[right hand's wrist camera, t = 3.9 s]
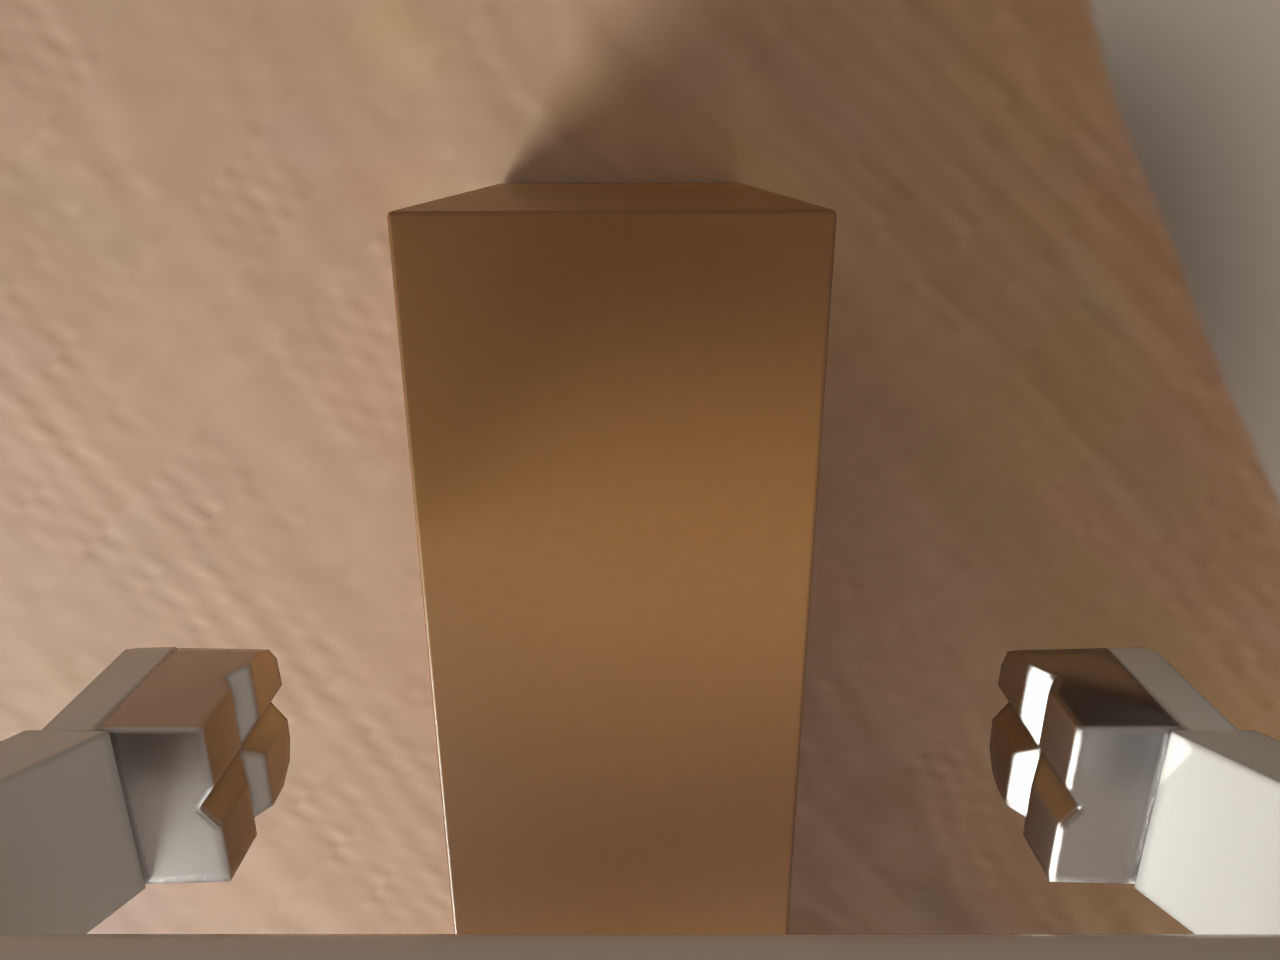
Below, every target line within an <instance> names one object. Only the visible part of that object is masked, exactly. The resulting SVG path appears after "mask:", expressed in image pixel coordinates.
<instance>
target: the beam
mask: <svg viewBox="0 0 1280 960" xmlns="http://www.w3.org/2000/svg"><path fill="white" fill-rule="evenodd" d="M387 219H388V230H389V240H390V251H391V262H392V272H393V283H394V294H395V304H396V315H397V326H398V337H399V347H400V358H401V369H402V379H403V390H404V401H405V411H406V422H407V433H408V443H409V454H410V465H411V475H412V486H413V497H414V507H415V518H416V529H417V540H418V550H419V561H420V572H421V582H422V593H423V604H424V614H425V625H426V636H427V646H428V657H429V668H430V678H431V689H432V700H433V710H434V721H435V732H436V743H437V753H438V764H439V775H440V785H441V796H442V807H443V817H444V828H445V839H446V849H447V860H448V871H449V881H450V892H451V903H452V913H453V924H454V934H787V929H788V914H789V899H790V885H791V870H792V856H793V841H794V827H795V812H796V797H797V783H798V768H799V754H800V739H801V725H802V710H803V695H804V681H805V666H806V652H807V637H808V623H809V608H810V593H811V579H812V564H813V550H814V535H815V521H816V506H817V491H818V477H819V462H820V448H821V433H822V419H823V404H824V390H825V375H826V360H827V346H828V331H829V317H830V302H831V288H832V273H833V258H834V244H835V229H836V213H835V211H833V210H831V209H827V208H824V207H820V206H817V205H813V204H810V203H806V202H803V201H800V200H796V199H793V198H789V197H786V196H782V195H779V194H776V193H772V192H769V191H765V190H762V189H758V188H755V187H751V186H748V185H745V184H741V183H543V184H497V185H493V186H489V187H486V188H482V189H478V190H474V191H470V192H466V193H462V194H458V195H454V196H450V197H446V198H442V199H438V200H434V201H430V202H426V203H422V204H418V205H414V206H411V207H407V208H403V209H399V210H395V211H392V212H389V213H388V216H387Z"/></svg>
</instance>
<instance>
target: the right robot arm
mask: <svg viewBox="0 0 1280 960" xmlns="http://www.w3.org/2000/svg"><path fill="white" fill-rule="evenodd" d="M281 685H282V683H281V678H280V673H279V668H278V663H277V658H276V657H275V656H274V655H273V654H272V653H271V652H270V651H269V650H261V649H209V648H180V649H178V648H176V647H159V648H134V649H128V650H125V651H124V652H123V653H122V654H121V655H120V656H118V657H117V658H116V659H115V660H114V661H113V662H112V663H111V664H110V665H109V666H108V667H107V668H106V669H105V670H104V671H103V672H102V673H101V674H100V675H99V676H98V677H97V678H96V679H94V680H93V681H92V682H91V683H90V684H89V685H88V686H87V687H86V688H85V689H84V690H83V691H82V692H81V693H80V694H79V695H78V696H77V697H76V698H75V699H74V700H73V701H71V702H70V703H69V704H68V705H67V706H66V707H65V708H64V709H63V710H62V711H61V712H60V713H59V714H58V715H57V716H56V717H55V718H54V719H53V720H52V721H51V722H50V723H49V724H47V725H46V726H45V727H44V728H43V729H42V730H35V731H24V732H22V733H19V734H17V735H15V736H12V737H10V738H8V739H5V740H3V741H1V742H0V960H1280V742H1279V741H1277V740H1275V739H1272V738H1270V737H1268V736H1265V735H1263V734H1261V733H1258V732H1256V731H1245V730H1238V729H1237V728H1236V727H1235V726H1234V725H1233V724H1232V723H1231V722H1229V721H1228V720H1227V719H1226V718H1225V717H1224V716H1223V715H1222V714H1221V713H1220V712H1219V711H1218V710H1217V709H1216V708H1215V707H1214V706H1213V705H1212V704H1211V703H1210V702H1209V701H1208V700H1207V699H1206V698H1204V697H1203V696H1202V695H1201V694H1200V693H1199V692H1198V691H1197V690H1196V689H1195V688H1194V687H1193V686H1192V685H1191V684H1190V683H1189V682H1188V681H1187V680H1186V679H1185V678H1184V677H1183V676H1182V675H1181V674H1180V673H1178V672H1177V671H1176V670H1175V669H1174V668H1173V667H1172V666H1171V665H1170V664H1169V663H1168V662H1167V661H1166V660H1165V659H1164V658H1163V657H1162V656H1161V655H1160V654H1159V653H1158V652H1157V651H1155V650H1152V649H1149V648H1146V647H1129V648H1095V649H1055V650H1018V651H1008V652H1007V654H1006V656H1005V658H1004V661H1003V663H1002V665H1001V671H1000V677H999V683H998V685H999V687H1000V688H1001V690H1002V691H1003V693H1004V694H1005V696H1006V697H1007V699H1008V700H1009V703H1008V704H1007V705H1006V706H1005V707H1004V708H1003V709H1002V710H1001V711H1000V712H999V713H998V714H997V715H996V716H995V717H994V718H993V722H992V730H991V738H990V754H991V764H992V772H993V775H994V778H995V781H996V784H997V787H998V790H999V792H1000V793H1001V795H1002V797H1003V799H1004V801H1005V803H1006V805H1008V806H1009V807H1011V808H1012V809H1014V810H1015V811H1017V812H1018V813H1020V814H1022V815H1023V816H1025V817H1026V820H1025V826H1024V832H1023V835H1024V837H1025V839H1026V840H1027V842H1028V844H1029V846H1030V847H1031V849H1032V851H1033V853H1034V854H1035V856H1036V858H1037V860H1038V861H1039V863H1040V865H1041V867H1042V868H1043V870H1044V872H1045V874H1046V875H1047V877H1048V879H1049V881H1052V882H1088V883H1124V884H1135V887H1134V888H1136V889H1137V890H1138V891H1139V892H1141V893H1142V894H1143V895H1145V896H1146V897H1147V898H1149V899H1150V900H1151V901H1152V902H1154V903H1155V904H1156V905H1158V906H1159V907H1160V908H1162V909H1163V910H1164V911H1165V912H1167V913H1168V914H1169V915H1171V916H1172V917H1173V918H1175V919H1176V920H1177V921H1178V922H1180V923H1181V924H1182V925H1184V926H1185V927H1186V928H1187V929H1189V930H1190V931H1191V932H1193V933H1194V934H86V933H88V932H89V931H90V930H92V929H93V928H94V927H95V926H97V925H98V924H99V923H101V922H102V921H103V920H105V919H106V918H107V917H108V916H110V915H111V914H112V913H114V912H115V911H116V910H118V909H119V908H120V907H121V906H123V905H124V904H125V903H127V902H128V901H129V900H130V899H132V898H133V897H134V896H136V895H137V894H138V893H140V892H141V891H142V890H143V889H145V884H155V883H190V882H225V881H231V879H232V877H233V876H234V874H235V872H236V870H237V869H238V867H239V865H240V863H241V862H242V860H243V858H244V856H245V854H246V853H247V851H248V849H249V847H250V846H251V844H252V842H253V840H254V839H255V837H256V835H257V832H256V826H255V820H254V817H255V816H257V815H258V814H260V813H262V812H263V811H265V810H266V809H268V808H269V807H271V806H272V805H274V803H275V801H276V799H277V797H278V795H279V793H280V791H281V789H282V788H283V785H284V781H285V777H286V773H287V769H288V765H289V760H290V735H289V728H288V721H287V718H286V717H285V716H284V715H283V714H282V713H281V712H280V711H279V710H278V709H277V708H276V707H275V706H274V705H273V704H272V703H271V701H272V699H273V697H274V696H275V694H276V693H277V691H278V690H279V688H280V687H281Z"/></svg>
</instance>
